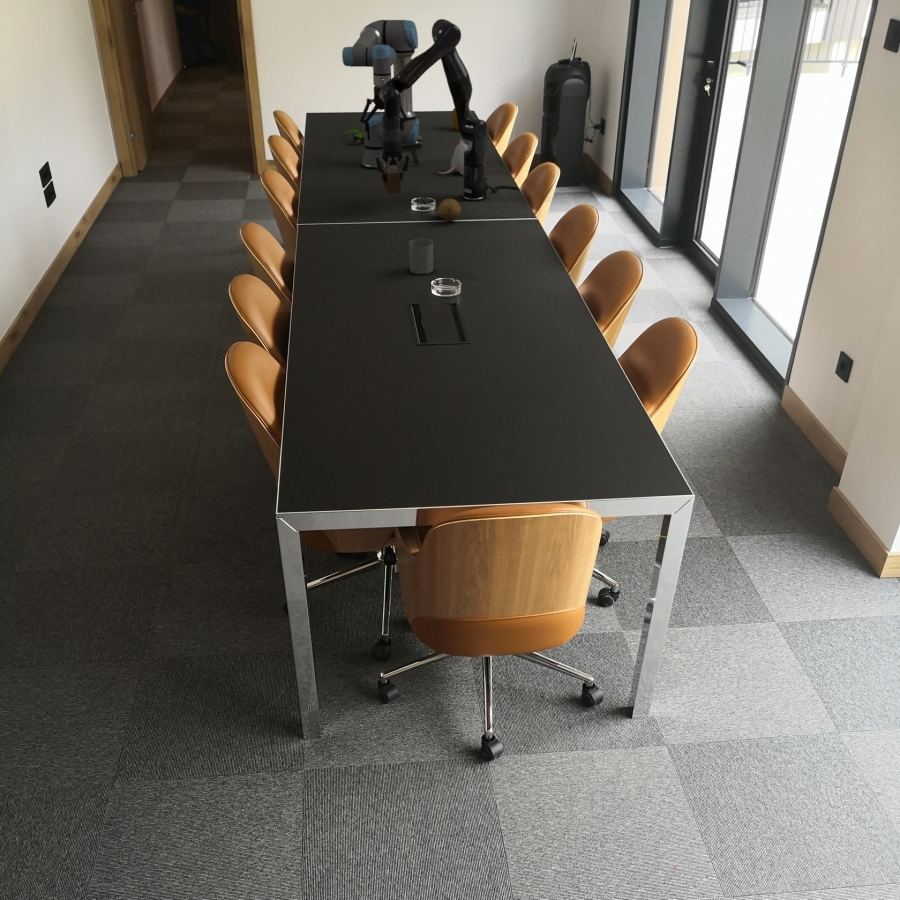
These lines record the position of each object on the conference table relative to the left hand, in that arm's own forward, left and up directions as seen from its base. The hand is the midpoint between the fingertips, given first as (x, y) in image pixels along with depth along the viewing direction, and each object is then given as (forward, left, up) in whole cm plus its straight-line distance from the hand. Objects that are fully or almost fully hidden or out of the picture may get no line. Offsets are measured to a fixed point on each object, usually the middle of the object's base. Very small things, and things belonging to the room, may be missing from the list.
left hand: (384, 138), depth 373 cm
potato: (+14, +43, -24) cm, 51 cm away
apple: (-123, -42, -24) cm, 132 cm away
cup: (+66, +67, -24) cm, 97 cm away
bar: (+13, +12, -15) cm, 23 cm away
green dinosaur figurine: (-71, -66, -24) cm, 100 cm away
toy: (-43, +7, -24) cm, 50 cm away
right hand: (+18, +18, -11) cm, 28 cm away
